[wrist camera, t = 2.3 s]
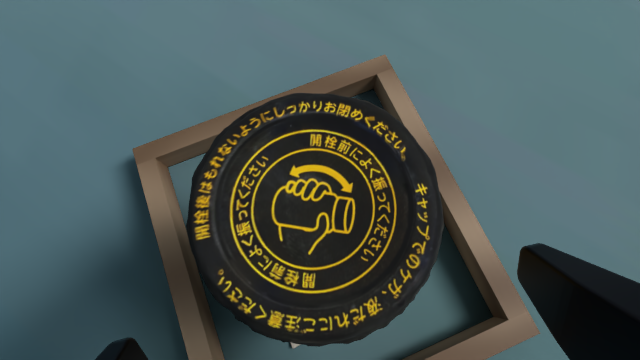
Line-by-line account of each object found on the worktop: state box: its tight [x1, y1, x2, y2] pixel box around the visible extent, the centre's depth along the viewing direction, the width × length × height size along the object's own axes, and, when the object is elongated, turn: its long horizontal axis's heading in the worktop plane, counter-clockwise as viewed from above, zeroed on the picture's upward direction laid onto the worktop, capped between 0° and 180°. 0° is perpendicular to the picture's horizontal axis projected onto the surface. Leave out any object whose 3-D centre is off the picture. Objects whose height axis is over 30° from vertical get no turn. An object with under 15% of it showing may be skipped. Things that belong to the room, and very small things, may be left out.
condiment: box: [186, 93, 444, 349], centre depth 13 cm, size 7×8×12 cm
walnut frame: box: [133, 55, 540, 360], centre depth 17 cm, size 16×15×2 cm
